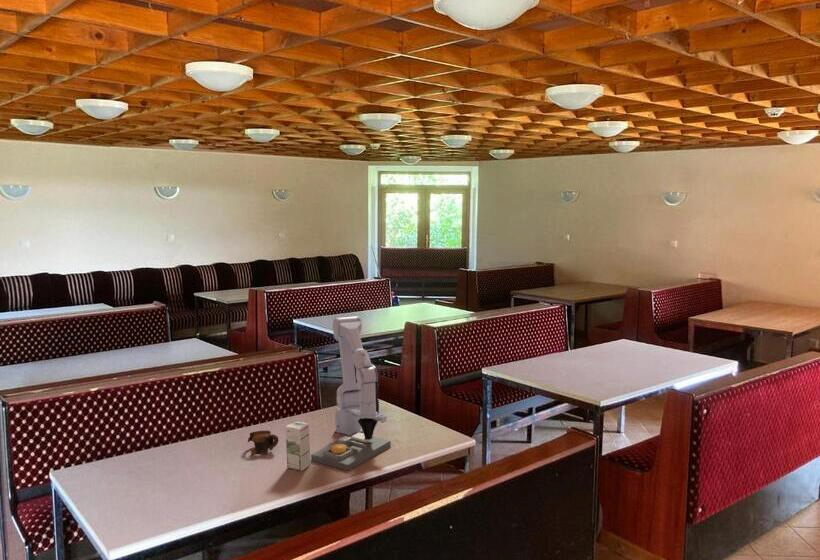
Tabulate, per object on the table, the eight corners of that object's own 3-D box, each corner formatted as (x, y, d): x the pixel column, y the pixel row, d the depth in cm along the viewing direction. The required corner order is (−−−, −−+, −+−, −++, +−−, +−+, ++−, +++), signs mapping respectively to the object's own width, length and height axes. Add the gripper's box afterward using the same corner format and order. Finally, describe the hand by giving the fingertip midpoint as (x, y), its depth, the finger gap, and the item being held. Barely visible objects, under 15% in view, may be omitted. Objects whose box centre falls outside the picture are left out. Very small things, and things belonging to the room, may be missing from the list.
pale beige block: (338, 445, 211) (338, 439, 211) (345, 442, 214) (344, 436, 214) (345, 447, 209) (345, 441, 209) (351, 444, 212) (351, 437, 212)
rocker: (351, 438, 215) (351, 436, 215) (359, 434, 219) (359, 432, 218) (365, 442, 211) (365, 440, 211) (373, 438, 215) (373, 436, 215)
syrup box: (311, 464, 201) (309, 422, 200) (300, 471, 196) (299, 428, 194) (297, 461, 204) (295, 420, 202) (286, 468, 198) (284, 426, 197)
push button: (328, 453, 204) (328, 447, 203) (337, 448, 208) (337, 442, 207) (339, 456, 201) (339, 450, 201) (349, 451, 205) (349, 445, 205)
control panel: (311, 460, 205) (310, 450, 204) (355, 437, 225) (355, 428, 224) (348, 470, 196) (347, 460, 196) (390, 446, 216) (390, 436, 216)
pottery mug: (242, 457, 209) (242, 433, 213) (257, 459, 218) (256, 435, 221) (273, 451, 206) (272, 426, 210) (286, 453, 215) (285, 429, 218)
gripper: (344, 400, 212) (345, 438, 214) (377, 407, 205) (378, 446, 206) (356, 395, 218) (357, 431, 220) (389, 401, 210) (390, 439, 212)
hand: (368, 438), depth 213 cm, fingers closed, pressing on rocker
